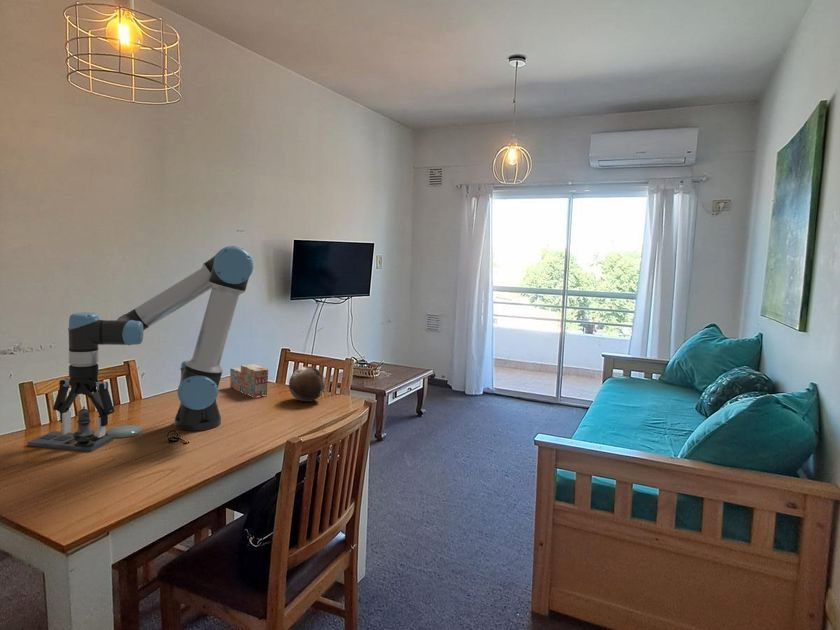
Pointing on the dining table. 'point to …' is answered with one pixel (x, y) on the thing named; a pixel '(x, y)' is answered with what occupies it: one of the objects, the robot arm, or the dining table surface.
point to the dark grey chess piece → (83, 429)
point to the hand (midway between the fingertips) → (83, 434)
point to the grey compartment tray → (67, 442)
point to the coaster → (124, 431)
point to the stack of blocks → (249, 379)
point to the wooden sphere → (307, 383)
